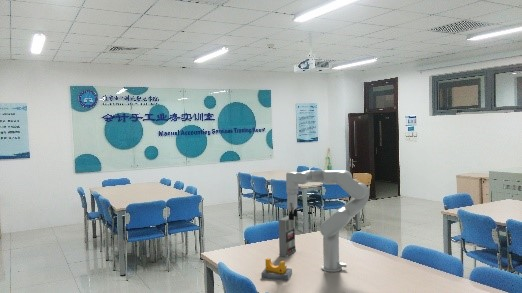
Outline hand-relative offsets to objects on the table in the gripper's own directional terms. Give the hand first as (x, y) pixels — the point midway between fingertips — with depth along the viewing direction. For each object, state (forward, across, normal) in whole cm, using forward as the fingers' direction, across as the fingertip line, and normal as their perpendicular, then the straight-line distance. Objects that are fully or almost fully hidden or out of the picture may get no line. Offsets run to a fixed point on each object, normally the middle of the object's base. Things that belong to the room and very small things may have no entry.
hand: (293, 218), depth 258 cm
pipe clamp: (+28, +20, -7) cm, 35 cm away
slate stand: (+30, +21, -6) cm, 37 cm away
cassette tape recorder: (+31, -22, -9) cm, 39 cm away
